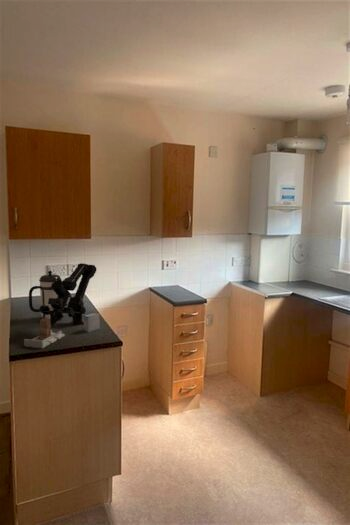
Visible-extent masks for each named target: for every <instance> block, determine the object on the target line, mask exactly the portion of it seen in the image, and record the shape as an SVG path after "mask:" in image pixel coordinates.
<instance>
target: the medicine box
mask: <svg viewBox="0 0 350 525" xmlns="http://www.w3.org/2000/svg"><path fill="white" fill-rule="evenodd" d="M100 316H101V314H99V313H96V312H94V313H90V314H86V315H85V314H84V315H83V322H84V324H83V331H84V332H87V333H90V332H93V331H97V330H100V329H101V324H100V323H101V321H100V320H101V318H100Z"/></svg>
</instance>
